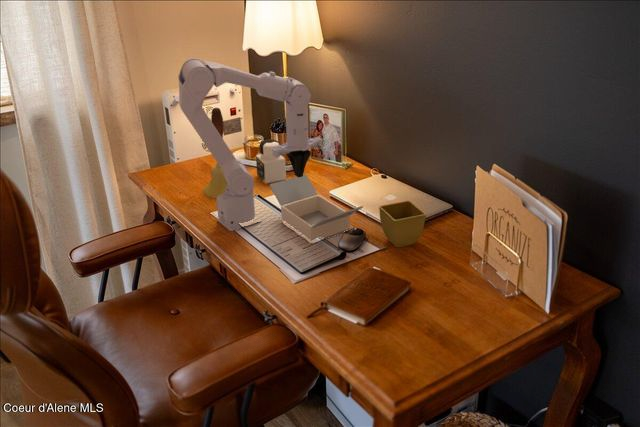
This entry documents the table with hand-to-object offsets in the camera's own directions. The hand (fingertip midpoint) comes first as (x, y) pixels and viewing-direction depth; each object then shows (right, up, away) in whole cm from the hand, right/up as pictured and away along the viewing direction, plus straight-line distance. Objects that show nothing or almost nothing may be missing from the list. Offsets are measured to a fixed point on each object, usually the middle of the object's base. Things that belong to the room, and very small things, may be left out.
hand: (298, 175), depth 160 cm
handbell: (-23, -3, +18) cm, 29 cm away
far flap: (-1, -4, 0) cm, 4 cm away
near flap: (+10, -11, -15) cm, 21 cm away
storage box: (+4, -14, -4) cm, 15 cm away
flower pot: (+26, -17, -11) cm, 33 cm away
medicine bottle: (-9, +1, +25) cm, 27 cm away
